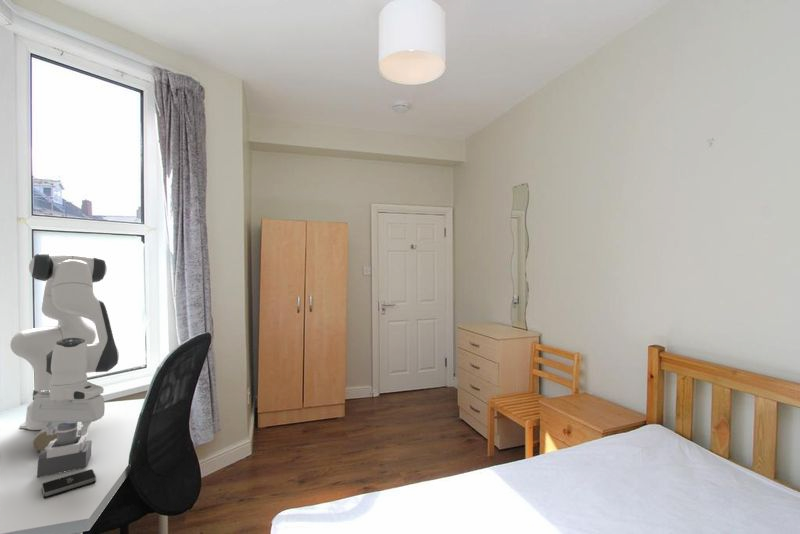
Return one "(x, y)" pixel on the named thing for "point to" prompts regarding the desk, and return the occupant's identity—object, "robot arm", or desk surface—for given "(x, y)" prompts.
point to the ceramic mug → (44, 438)
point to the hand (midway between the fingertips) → (66, 434)
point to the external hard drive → (68, 483)
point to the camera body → (64, 457)
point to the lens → (66, 433)
